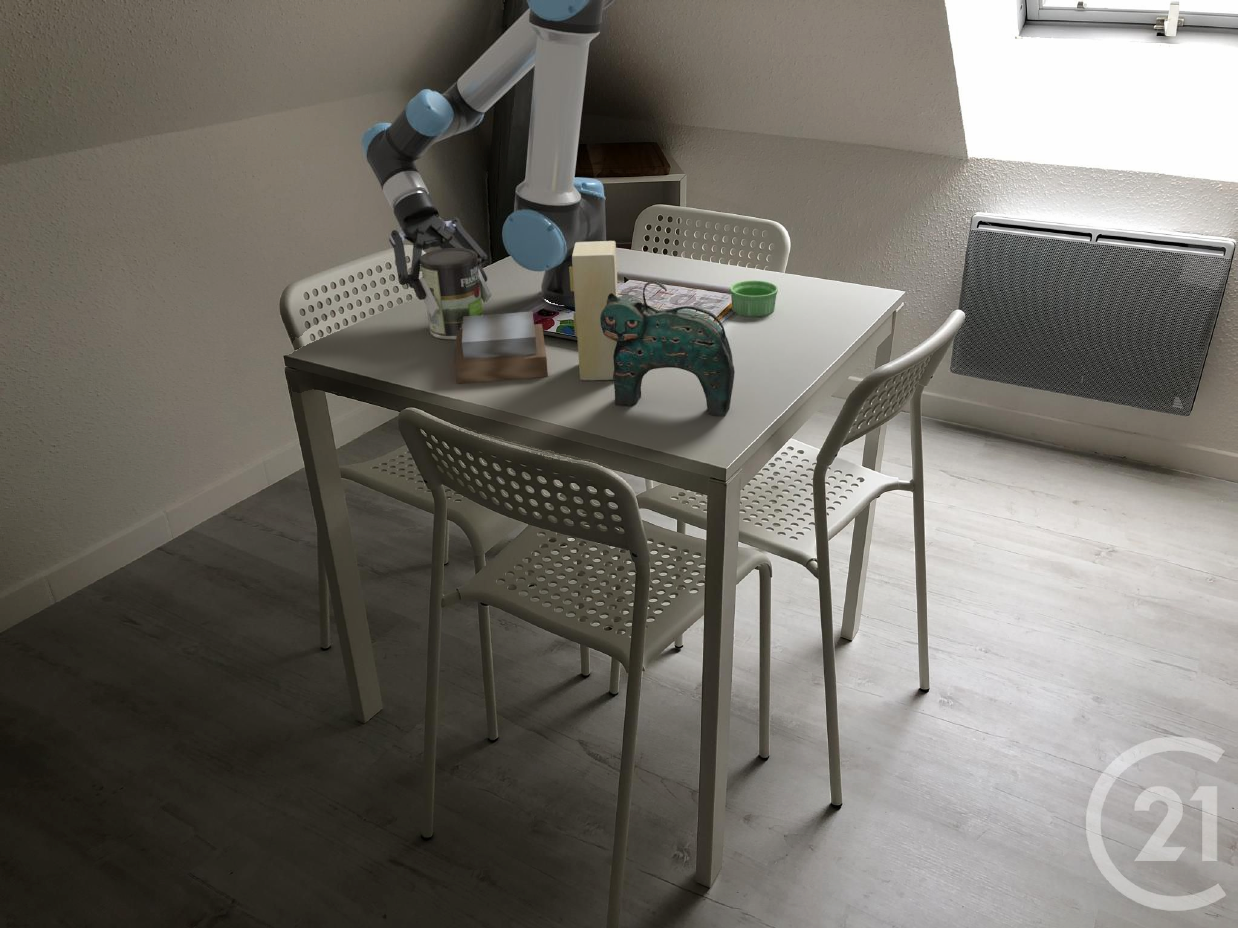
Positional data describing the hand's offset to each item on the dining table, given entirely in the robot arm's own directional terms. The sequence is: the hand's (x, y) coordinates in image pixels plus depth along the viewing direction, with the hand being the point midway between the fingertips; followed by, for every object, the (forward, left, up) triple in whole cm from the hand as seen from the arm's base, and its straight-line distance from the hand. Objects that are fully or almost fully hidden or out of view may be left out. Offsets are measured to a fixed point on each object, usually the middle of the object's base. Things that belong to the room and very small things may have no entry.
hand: (462, 305), depth 176 cm
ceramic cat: (-32, +36, -6) cm, 49 cm away
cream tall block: (-22, +21, -6) cm, 32 cm away
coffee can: (+2, -3, -6) cm, 6 cm away
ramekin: (-54, -2, -6) cm, 55 cm away
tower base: (-6, +14, -5) cm, 17 cm away
